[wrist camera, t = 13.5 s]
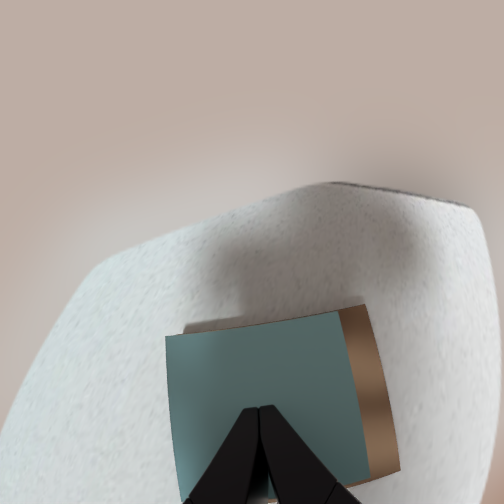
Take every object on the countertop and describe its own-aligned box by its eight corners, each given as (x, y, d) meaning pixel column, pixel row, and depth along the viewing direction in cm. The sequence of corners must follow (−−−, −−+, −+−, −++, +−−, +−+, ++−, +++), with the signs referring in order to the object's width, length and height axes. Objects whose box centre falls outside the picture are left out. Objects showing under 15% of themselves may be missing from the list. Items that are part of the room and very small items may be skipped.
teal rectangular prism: (320, 444, 15) (370, 477, 6) (234, 457, 15) (181, 501, 6) (307, 367, 18) (337, 310, 9) (224, 379, 18) (165, 336, 9)
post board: (394, 468, 14) (424, 478, 10) (198, 501, 14) (176, 521, 10) (361, 309, 21) (380, 281, 17) (181, 338, 21) (156, 317, 17)
